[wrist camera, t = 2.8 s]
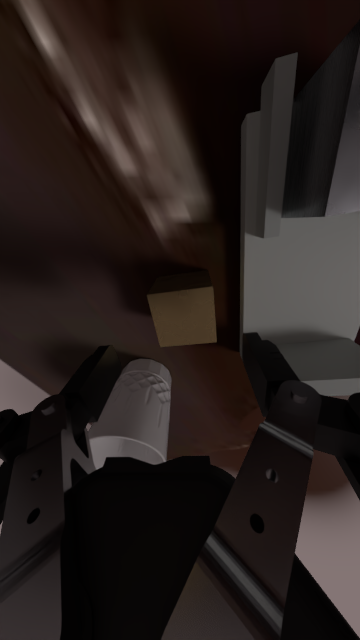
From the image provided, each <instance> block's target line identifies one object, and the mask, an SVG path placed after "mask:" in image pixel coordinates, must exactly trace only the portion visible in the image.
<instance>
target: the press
mask: <svg viewBox="0 0 360 640" xmlns="http://www.w3.org/2000/svg"><path fill="white" fill-rule="evenodd" d="M297 56H298V52H297V53H294V54H290V55H287V56H283V57H279V58H276V59H275V61H274V63H273V65H272V67H271V69H270V71H269V72H268V74H267V76H266V78H265V80H264V82H263V84H262V89H261V111H257V112H253V113H249V114H247V115H246V117H245V119H244V121H243V123H242V125H241V230H240V355H241V357H242V336H243V333H250V332H257V333H258V334H259V336H260V337H261V339H262V340H269V341H271V342H272V343H273V344H275V345H276V346H277V348H278V349H279V351H280V353H282V355H283V356H284V359H286V361H287V362H288V364H289V365H290V367H291V368H292V369H293V371H294V372H295V374H296V375H297V377H298V378H299V380H300V381H301V382H304V383H306V384H308V385H310V386H311V387H313V388H314V389H315V390H316V391H317V392H318V393H319V394H321V395H324V396H338V395H352V394H354V393H358V392H360V346H359V345H358V344H356V343H355V342H354V339H355V337H356V334H357V332H358V329H359V326H360V211H357V212H351V213H345V214H339V215H333V216H327V217H304V218H281V214H282V204H283V194H284V184H285V174H286V164H287V154H288V145H289V135H290V125H291V115H292V105H293V95H294V85H295V76H296V66H297ZM242 360H243V358H242Z"/></svg>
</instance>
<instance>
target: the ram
mask: <svg viewBox="0 0 360 640" xmlns="http://www.w3.org/2000/svg"><path fill="white" fill-rule="evenodd" d="M357 211H360V20H359V21H358V22H357V24H356V25H355V26H354V27H353V28H352V30H351V31H350V32H349V33H348V34H347V36H346V37H345V38H344V39H343V40H342V42H341V43H340V44H339V45H338V46H337V48H336V49H335V50H334V51H333V53H332V54H331V55H330V56H329V57H328V59H327V60H326V61H325V62H324V63H323V65H322V66H321V67H320V68H319V69H318V71H317V72H316V73H315V74H314V75H313V77H312V78H311V79H310V80H309V81H308V83H307V84H306V85H305V86H304V87H303V89H302V90H301V91H300V92H299V94H298V95H297V96H296V97H295V98H294V100H293V105H292V115H291V125H290V135H289V145H288V154H287V164H286V174H285V184H284V194H283V204H282V214H281V218H304V217H327V216H333V215H339V214H345V213H351V212H357Z"/></svg>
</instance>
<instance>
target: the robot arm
mask: <svg viewBox="0 0 360 640" xmlns="http://www.w3.org/2000/svg"><path fill="white" fill-rule="evenodd" d="M242 358H243V363H244V366H245V369H246V372H247V374H248V377H249V380H250V383H251V385H252V388H253V391H254V393H255V396H256V399H257V402H258V404H259V407H260V410H261V412H262V415H263V417H266V419H265V421H264V423H261V424H260V426H259V427H258V430H257V432H256V434H255V436H254V439H253V441H252V443H251V445H250V448H249V450H248V452H247V455H246V457H245V459H244V461H243V463H242V466H241V468H240V470H239V473H238V475H237V477H236V479H235V478H234V477H233V476H232V475H231V474H229V473H228V472H226V471H224V470H223V469H221V468H218V467H216V466H213V465H211V464H210V458H209V456H182V457H178V458H175V459H172V460H169V461H166V462H163V463H160V464H156V465H153V464H150V463H147V462H144V461H141V460H138V459H135V458H132V457H106V459H105V462H104V465H103V467H101V468H99V469H97V470H96V468H95V465H94V462H93V457H92V452H91V447H90V441H89V436H88V431H87V429H86V425H87V424H88V422H98V419H99V417H100V415H101V413H102V411H103V409H104V407H105V405H106V402H107V400H108V398H109V396H110V394H111V392H112V390H113V388H114V386H115V383H116V381H117V379H118V377H119V375H120V373H121V363H120V361H119V358H118V356H117V353H116V351H115V348H114V347H113V346H112V345H108V346H99V347H98V348H97V350H96V351H95V352H94V354H93V355H91V356H90V357H89V358H87V359H86V360H85V361H84V362H83V363H82V365H81V366H80V368H79V369H78V370H77V371H76V372H75V374H74V375H73V376H72V378H71V379H70V380H69V382H68V383H67V384H66V385H65V387H64V388H63V389H62V391H61V392H60V393H59V394H56V395H52V396H50V397H48V398H46V399H45V400H43V401H42V402H40V403H39V404H38V405H37V406H36V407H35V409H34V410H33V411H31V412H28V413H25V414H22V415H18V414H17V413H16V412H15V411H14V410H12V409H7V410H3V411H1V412H0V458H1V459H2V460H3V461H4V462H3V463H2V465H1V466H0V524H1V523H2V521H3V524H2V529H1V534H0V640H360V638H359V637H358V636H357V634H356V633H355V632H354V630H353V629H352V628H351V626H350V625H349V624H348V622H347V621H346V620H345V619H344V617H343V616H342V615H341V613H340V612H339V611H338V609H337V608H336V607H335V606H334V604H333V603H332V602H331V600H330V599H329V598H328V597H327V595H326V594H325V592H324V591H323V590H322V588H321V587H320V586H319V584H318V583H317V582H316V581H315V579H314V578H313V577H312V575H311V574H310V573H309V571H308V570H307V569H306V568H305V566H304V565H303V564H302V562H301V561H300V560H299V558H298V557H297V556H296V554H295V549H296V543H297V538H298V532H299V528H300V522H301V517H302V512H303V506H304V501H305V496H306V491H307V485H308V480H309V474H310V469H311V464H312V458H313V450H312V449H315V450H318V451H321V452H325V453H328V454H332V455H335V457H336V458H337V460H338V462H339V464H340V466H341V467H342V469H343V471H344V473H345V475H346V476H347V478H348V480H349V481H350V484H351V485H352V487H353V489H354V491H355V493H356V494H357V496H358V498H359V500H360V392H358V393H354V394H352V395H351V396H350V397H349V399H348V400H344V399H338V398H333V397H328V396H324V395H321V394H319V393H318V392H317V391H316V390H315V389H314V388H313V387H311V386H310V385H308V384H306V383H304V382H301V381H300V380H299V378H298V377H297V375H296V374H295V372H294V371H293V369H292V368H291V367H290V365H289V364H288V362H287V361H286V359H284V356H283V355H282V353H280V351H279V349H278V348H277V346H276V345H275V344H273V343H272V342H271V341H269V340H262V339H261V337H260V336H259V334H258V333H257V332H250V333H243V336H242Z"/></svg>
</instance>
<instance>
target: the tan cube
mask: <svg viewBox="0 0 360 640" xmlns="http://www.w3.org/2000/svg"><path fill="white" fill-rule="evenodd" d="M147 298H148V302H149V306H150V310H151V313H152V317H153V321H154V325H155V329H156V332H157V336H158V340H159V344H160V347H166V346H178V345H190V344H201V343H213V342H217V337H216V323H215V309H214V295H213V285H212V282H211V278H210V275H209V271H208V270H204V271H197V272H190V273H183V274H176V275H169V276H162V277H158V278H157V279H156V281H155V282H154V284H153V286H152V287H151V289H150V290H149V292H148V294H147Z"/></svg>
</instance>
